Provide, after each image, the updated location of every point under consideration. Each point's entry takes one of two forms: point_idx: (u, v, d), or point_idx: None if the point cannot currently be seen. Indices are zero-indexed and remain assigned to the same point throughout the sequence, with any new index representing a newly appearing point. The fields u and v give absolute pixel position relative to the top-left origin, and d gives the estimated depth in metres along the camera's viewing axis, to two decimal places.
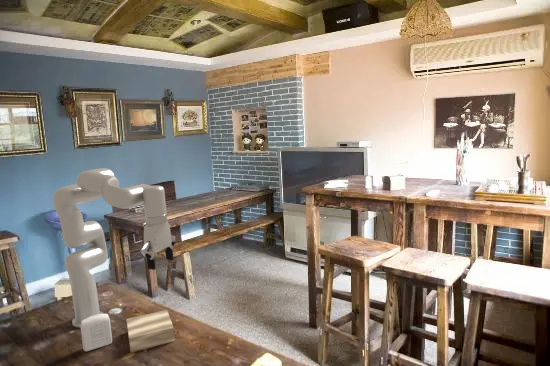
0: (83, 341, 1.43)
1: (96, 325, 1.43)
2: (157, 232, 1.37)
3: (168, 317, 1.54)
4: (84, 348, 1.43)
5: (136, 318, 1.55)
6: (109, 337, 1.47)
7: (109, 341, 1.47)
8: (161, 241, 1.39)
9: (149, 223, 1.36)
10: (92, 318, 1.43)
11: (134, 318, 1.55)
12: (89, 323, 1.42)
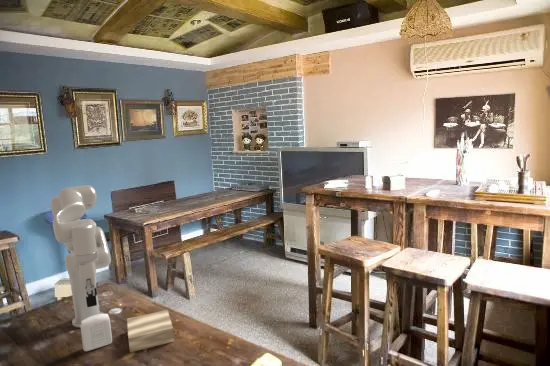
0: (83, 341, 1.43)
1: (96, 325, 1.43)
2: (94, 268, 1.40)
3: (168, 317, 1.54)
4: (84, 348, 1.43)
5: (136, 318, 1.55)
6: (109, 337, 1.47)
7: (109, 341, 1.47)
8: None
9: (86, 261, 1.38)
10: (92, 318, 1.43)
11: (134, 318, 1.55)
12: (89, 323, 1.42)
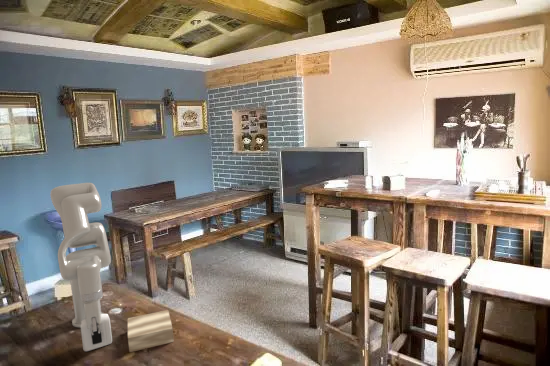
0: (83, 341, 1.42)
1: None
2: (99, 306, 1.42)
3: (168, 317, 1.54)
4: (84, 348, 1.43)
5: (137, 318, 1.55)
6: (109, 337, 1.47)
7: (109, 341, 1.47)
8: None
9: (91, 299, 1.40)
10: None
11: (135, 317, 1.55)
12: None
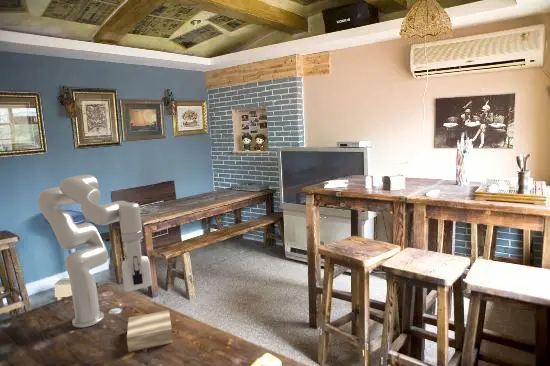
0: (124, 281, 1.43)
1: None
2: (140, 246, 1.43)
3: (168, 318, 1.54)
4: (125, 288, 1.44)
5: (137, 317, 1.55)
6: (149, 279, 1.47)
7: (149, 283, 1.47)
8: (141, 254, 1.45)
9: (133, 239, 1.41)
10: (133, 259, 1.44)
11: (136, 317, 1.56)
12: None
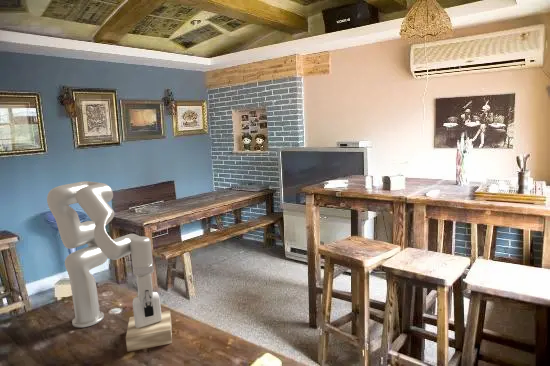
0: (135, 318, 1.47)
1: None
2: (151, 279, 1.46)
3: (168, 318, 1.53)
4: (136, 325, 1.47)
5: None
6: (159, 314, 1.51)
7: (159, 318, 1.51)
8: None
9: (144, 273, 1.44)
10: None
11: None
12: (140, 301, 1.46)
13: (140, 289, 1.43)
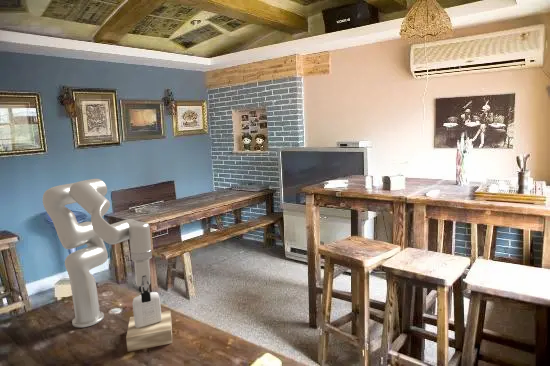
0: (135, 318, 1.47)
1: (147, 303, 1.47)
2: (149, 265, 1.45)
3: (169, 318, 1.53)
4: (136, 325, 1.47)
5: None
6: (159, 315, 1.50)
7: (159, 319, 1.51)
8: None
9: (142, 258, 1.43)
10: None
11: None
12: (140, 301, 1.46)
13: (138, 274, 1.42)
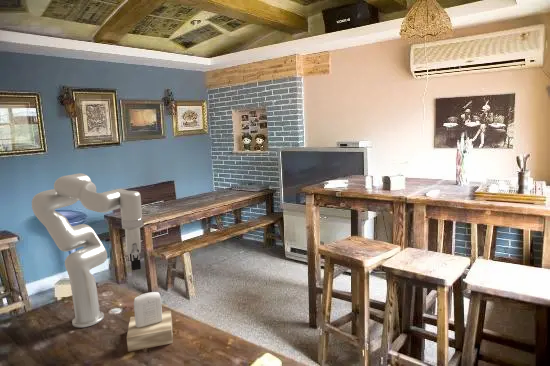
0: (136, 317, 1.47)
1: (149, 303, 1.47)
2: (139, 234, 1.47)
3: (169, 318, 1.53)
4: (137, 324, 1.47)
5: None
6: (160, 315, 1.51)
7: (160, 319, 1.51)
8: None
9: (133, 226, 1.45)
10: (145, 296, 1.47)
11: None
12: (142, 301, 1.46)
13: (128, 242, 1.44)
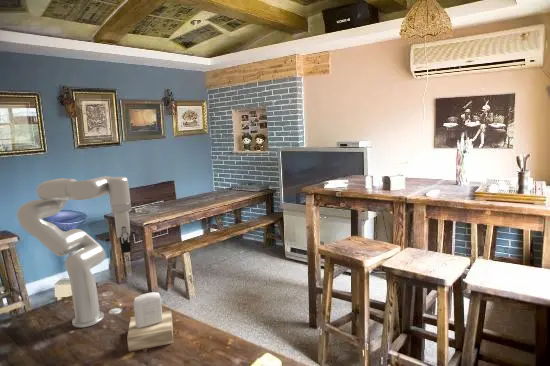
0: (136, 318, 1.47)
1: (148, 303, 1.47)
2: (128, 217, 1.52)
3: (170, 318, 1.53)
4: (137, 325, 1.47)
5: None
6: (160, 315, 1.50)
7: (160, 319, 1.50)
8: None
9: (121, 210, 1.50)
10: (144, 296, 1.47)
11: None
12: (141, 301, 1.46)
13: (117, 225, 1.49)
